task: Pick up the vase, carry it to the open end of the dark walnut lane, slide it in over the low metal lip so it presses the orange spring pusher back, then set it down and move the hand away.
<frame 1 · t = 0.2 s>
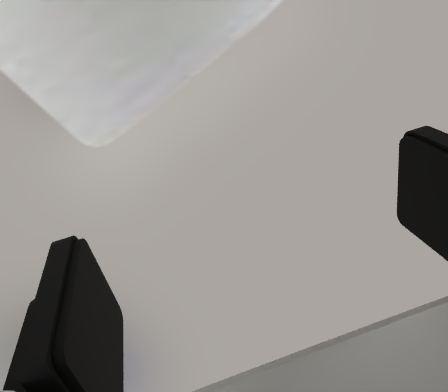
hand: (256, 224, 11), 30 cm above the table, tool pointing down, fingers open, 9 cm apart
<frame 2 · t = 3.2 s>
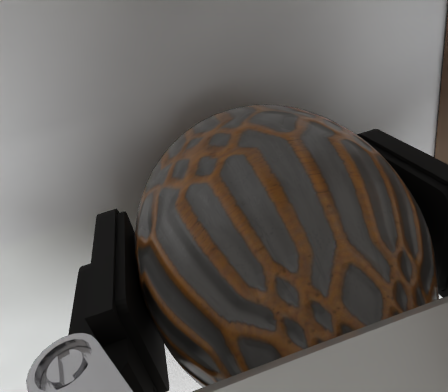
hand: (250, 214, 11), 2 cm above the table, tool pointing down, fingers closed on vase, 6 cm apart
vase: (232, 182, 13), on the table, touching gripper
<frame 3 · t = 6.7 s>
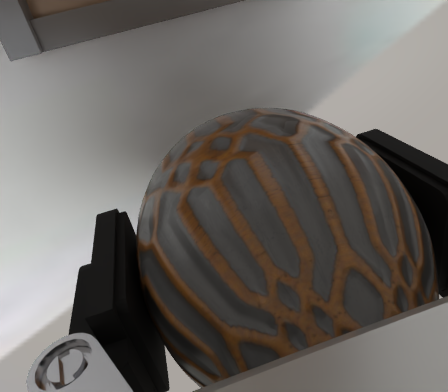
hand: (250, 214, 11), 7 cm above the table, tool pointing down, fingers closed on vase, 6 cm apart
vase: (233, 184, 13), point 5 cm above the table, touching gripper
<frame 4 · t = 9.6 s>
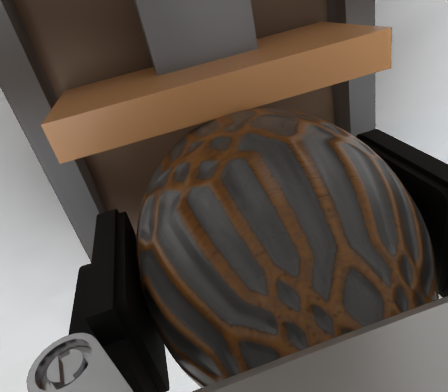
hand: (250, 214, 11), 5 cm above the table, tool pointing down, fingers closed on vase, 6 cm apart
pusher: (200, 24, 10), point 3 cm above the table, slide at 4.4 cm, touching vase
lane: (179, 0, 12), on the table
vase: (232, 184, 13), point 3 cm above the table, touching gripper, pusher
when the fingers open (4 cm above the table, at t = 10.7 s): vase drops 1 cm, resting on lane, pusher.
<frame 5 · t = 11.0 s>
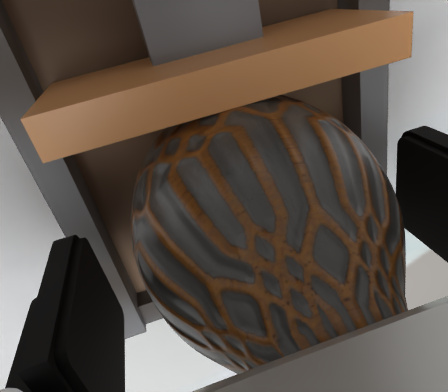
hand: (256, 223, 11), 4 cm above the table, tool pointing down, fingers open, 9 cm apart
pusher: (200, 9, 9), point 3 cm above the table, slide at 4.6 cm, touching vase
vase: (224, 168, 14), point 1 cm above the table, touching lane, pusher
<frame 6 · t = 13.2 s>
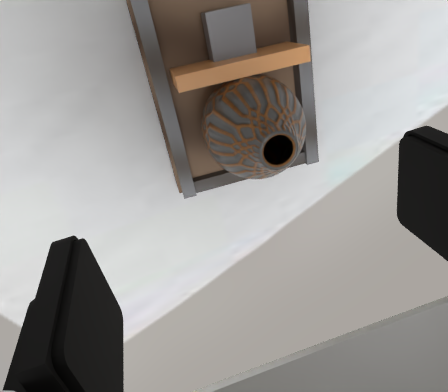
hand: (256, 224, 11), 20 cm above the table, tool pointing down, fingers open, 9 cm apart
pusher: (233, 41, 24), point 3 cm above the table, slide at 4.6 cm
lane: (221, 33, 27), on the table
vase: (238, 114, 29), point 1 cm above the table, touching lane
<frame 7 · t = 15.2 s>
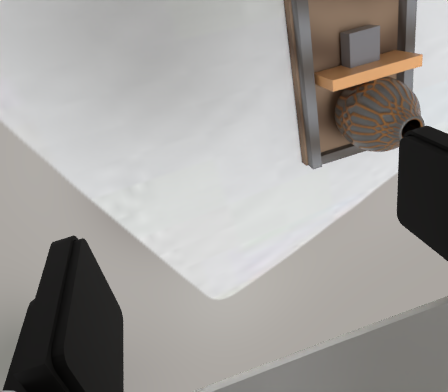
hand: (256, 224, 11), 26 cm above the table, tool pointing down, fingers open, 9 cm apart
pusher: (365, 53, 34), point 3 cm above the table, slide at 4.6 cm, touching vase
lane: (347, 45, 36), on the table
vase: (353, 104, 38), point 1 cm above the table, touching lane, pusher
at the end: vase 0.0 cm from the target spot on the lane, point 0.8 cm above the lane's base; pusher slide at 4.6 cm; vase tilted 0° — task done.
